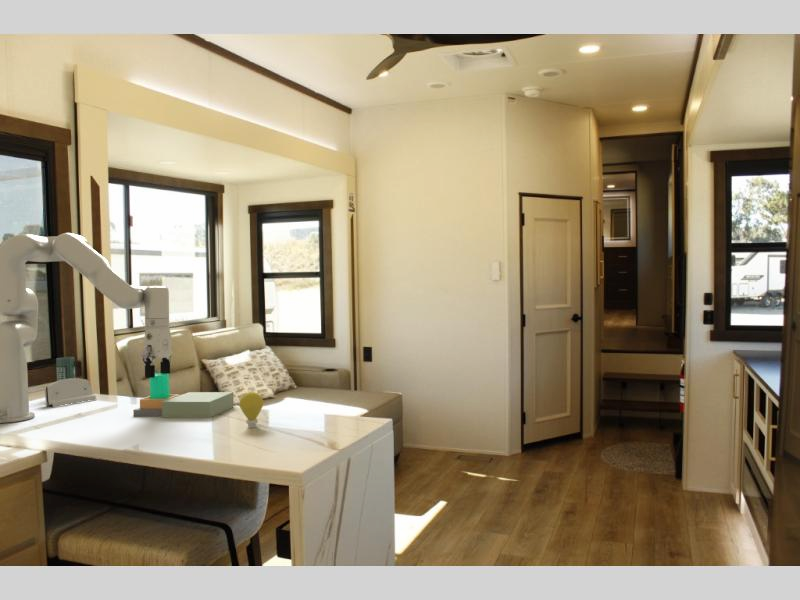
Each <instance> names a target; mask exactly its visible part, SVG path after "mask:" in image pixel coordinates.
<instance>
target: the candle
mask: <svg viewBox="0 0 800 600" xmlns="http://www.w3.org/2000/svg"><path fill="white" fill-rule="evenodd" d="M169 375H170V373H169V374H162V373H161V372H155V377H154V378H149V396H150V399H166V398H169V397H170V377H169Z"/></svg>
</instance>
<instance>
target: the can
mask: <svg viewBox="0 0 800 600" xmlns="http://www.w3.org/2000/svg"><path fill="white" fill-rule="evenodd" d="M75 360H76V359H75V356H65V357H58V358H57V357H56V358H55V363H56V365H55V367H56V368H55V369H56V382H57V381H60V380H64V379H69V378H76V361H75Z"/></svg>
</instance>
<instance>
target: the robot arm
mask: <svg viewBox="0 0 800 600" xmlns="http://www.w3.org/2000/svg"><path fill="white" fill-rule="evenodd" d="M27 262H36V263H37V262H38V263H50V262H65V263H67V264H68V265H69V266H71V267H72V268H73V269H74V270H76V271H77V272H78V273H80V275H82V276H83V277H85V278H86V279H87V280H88V281H89V283H91V284H92V285H93V286H94V288H96V289H97V290H98V291H99V292H100V293H101V294H102V295H103V296H105V297H106V298H107V299H108V300H109V301H111V302H112V303H114V304H115V305H116V306H117V307H119V308H122V309H125V310H130V309H131V310H132V309H139V308H144V330H145V331H144V342H143V343H144V345H143V351H142V352H141V356H142V361H143V365H144V377H145V378H147V379H148V378H149V379H150V378H154V377H155V373H156V366H155V363H156V359H158V360H161V361H160V373H162V374H169V375H170V374H171V360H172V359H171V357H172V355H173V346H172V344H173V343H172V335H171V329H170V292H169V288H168V287H167V286H164V285H161V286H160V285H153V286H151V285H150V286H141V285H131V284H129V283H128V282H127V281H125V280H124V279H123V278H122V277H120V275H118V274H117V273H116V272H115V271H114V270H113V269H112V268H111V266H110V263H109V261H108V260H107V258H105V257H104V256H102V254H100V253H99V252H98V251H96V250H95V249H94V248H92V247H91V246H90V244H89V241H88V240H87V239H86V238H85V237H84V236H82V235H80V234H76V233H71V232H64V233H61V234H59V235H57V236H54V235H53V236H41V235H35V234H30V233H21V234H16V235H13V236H11V237H9V238H7V239H6V240H4V241H3V242H2V244H1V245H0V315H1V316H3V317H6V320H5V321H0V424H5V423H15V422H22V421H26V420H31V419H33V418H35V417H36V416H35V415H36V414H35V412H33V411H32V412H31V411H30V405H29V401H30V400H29V383H28V382H29V379H28V378H29V376H28V374H29V373H28V361H27V355H26V351H25V348H27V347H30V346H31V345H32V344H33V343H35V341H36V338H37V335H38V327H39V326H38V324H39V322H38V321H39V299H38V297H37V294H36V293H35V292H34V291H33V290H31V289H30V288H28V287H27V278H28V277H27V276H28V275H27V270H26V263H27Z"/></svg>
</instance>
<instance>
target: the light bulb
mask: <svg viewBox="0 0 800 600" xmlns="http://www.w3.org/2000/svg"><path fill="white" fill-rule="evenodd" d="M263 406H264V399H263V398H262V396H261V395H260V394H259V393H257V392H255V391H250V392H247V393H244V394H243V395H242V396H241V398H240V399H239V408H240V410H241V411H242V413H243V415H244V416H245V418H246V422H245V423H246V424H247V427H248V428H252V429H253V428H257V424H258V421H259V420H258V418H257V417H258V416H259V414H260V413H261V410H262V408H263Z"/></svg>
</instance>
